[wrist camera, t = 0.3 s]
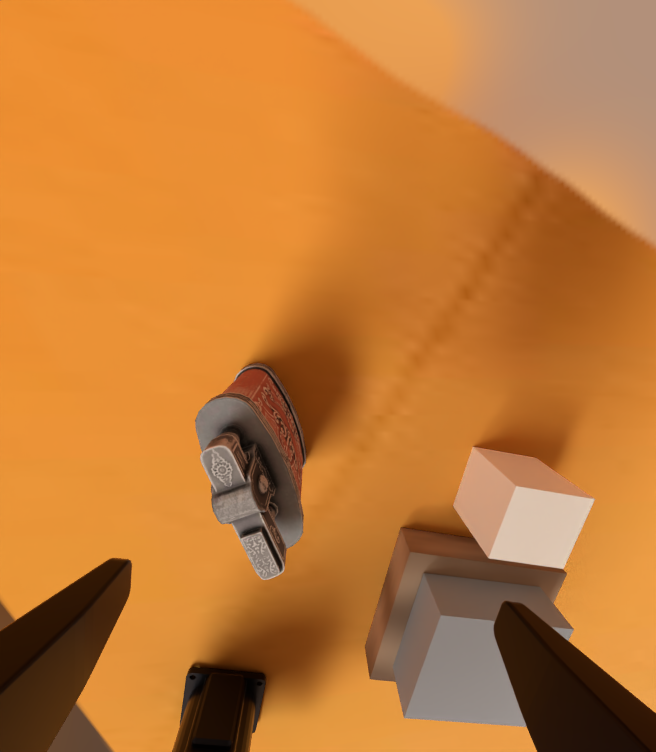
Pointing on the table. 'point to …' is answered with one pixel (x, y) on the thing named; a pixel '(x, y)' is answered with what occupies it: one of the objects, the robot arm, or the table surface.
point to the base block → (441, 558)
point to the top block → (463, 650)
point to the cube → (520, 508)
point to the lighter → (255, 465)
